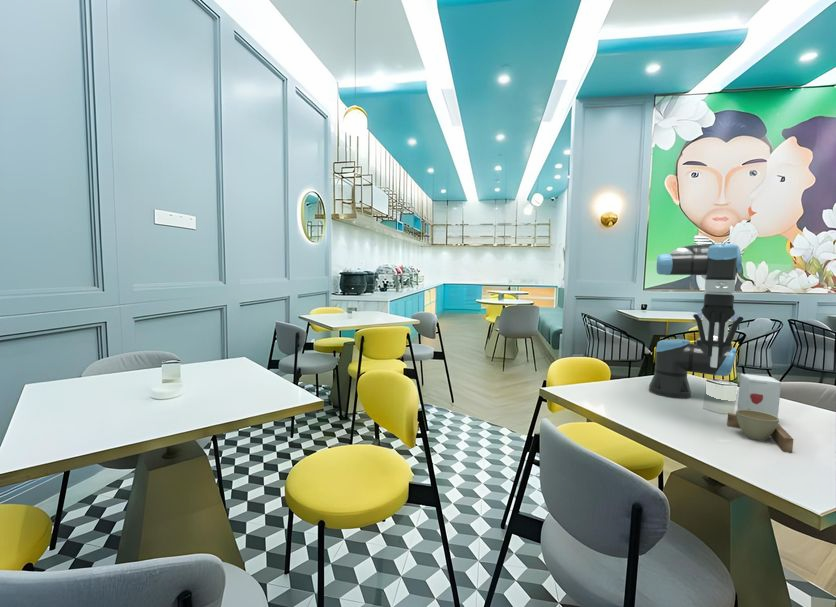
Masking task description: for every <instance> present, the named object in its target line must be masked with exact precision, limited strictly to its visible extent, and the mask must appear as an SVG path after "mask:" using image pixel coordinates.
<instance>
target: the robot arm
mask: <svg viewBox="0 0 836 607" xmlns="http://www.w3.org/2000/svg"><path fill="white" fill-rule="evenodd" d="M742 267H743V266H742V252H741V248H740V246H739V245H738V244H734V243H733V244H732V243H729V244H728V243H727V244H726V243H722V244H721V243H718V244H716V243H715V244H691V245H685V246H681V247H677V248H676V249H673V250H672V251H671V252H670V253H662V254H661V253H660V254H659V255H657V258H656V273H657V274H658V275H661V276H662V275H664V276H700V277H701V278H703V279H704V281H705V282H704V295H703V307H702V309H701V310H700V312H697V313H693V315H692V317H693V318H694V320H695V321H696V325H697V330H698V335H699V337H698V338H697V339H696V342H695V343H691V342H690V340H689V339H681V338H679V339H677V338H674V339H671V338H669V339H662V340H659V341H657V343H656V348H655V352H656V353H655V362H654V363H655V365H654V375H653V377H652V379H651V381H650V383H649V385H648V391H649V392H650V393H652V394H654V395H655V394H656V395H658V396H662V397H667V398H673V399H690V398H691V397H692V390H691V386H690V384H689V380H688V372H689V373H696V374H704V375H710V376H711V375H712V376H714V377H715V376H716V377H717V376H719V377H727V376H729V375H731V374H732V373H731V372H732V370H733V368H734V367H733V366H734V363H735V359H736V355H737V348H736V347H733V339H734V337H735V335H736V331H738V330H737V329H738V327H739V325H740V324H741V323H742V322H743V320H744V316H743V317H742V316H740V315H738V314H736V312H735V309H734V303H735V301H734V300H735V296H734V295H733V294H735V290H736V288H735V287H736V278H737V275H738V274H739V273H742V271H743V268H742ZM731 318H732V320H731V321H732V323H731V325H730V328H729V321H730V319H731Z"/></svg>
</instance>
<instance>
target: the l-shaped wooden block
mask: <svg viewBox="0 0 836 607" xmlns="http://www.w3.org/2000/svg"><path fill="white" fill-rule="evenodd" d="M726 425H727V427H731V428H737V429H741V428H740V426H739V424H738V421H737V416H736V413H732V412H728V413H727V422H726ZM770 438H771V439H772V440H773V442H775V444H776V445H777V447H779V448H780V450H781V451H782V452H784V453H788V454H789V453H790V454H793V449H794V448H793V447H794V438H793V437H792V436H791V435H790V434H789V433H788V432H787V430H785V428H783V427H782V425H781V424H780V423H778V425H777V427H776V429H775V431H774V432H773V433H772V435H771V436H770Z"/></svg>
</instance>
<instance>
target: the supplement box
mask: <svg viewBox="0 0 836 607" xmlns="http://www.w3.org/2000/svg"><path fill="white" fill-rule="evenodd" d="M739 378H740V379H739V386H738V387H739V388H738V398H737V408H736V411H737V410H754V411H759V412H764V413H768V414H771V415H774V416H776V417H778V418H779V410H780V409H779V408H780V396H781V388H782V387H781V386H782V382H781V381H780V380H777V379H776V378H774V377H772V376H765V375H757V374H746V373H740V377H739Z"/></svg>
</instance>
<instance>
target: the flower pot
mask: <svg viewBox="0 0 836 607" xmlns="http://www.w3.org/2000/svg"><path fill="white" fill-rule="evenodd" d="M735 414H736V416H737V421H738V424H739V426H740V428H739V429H740V430H741V432H742V434H743V435H744V436H745V437H746V438H747V439H751V440H754V441H762V442H763V441H764V442H765V441H766V440H768V439H769V438H771V435H772V433H773V432H774V431H775V429H776V427H777V425H778V424H779V421H780V418H779V416H778V417H776V416H774V415H771V414H768V413H764V412H759V411H754V410H737V409H736V411H735Z"/></svg>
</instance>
